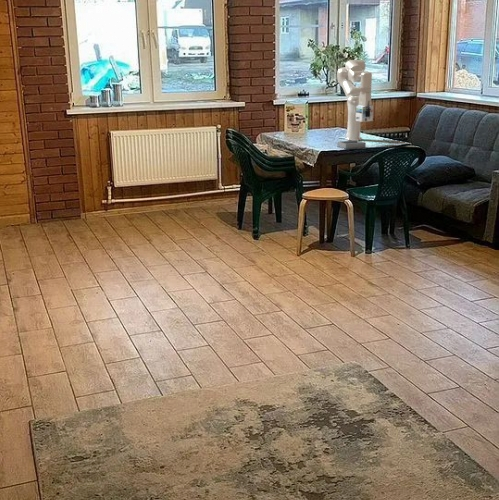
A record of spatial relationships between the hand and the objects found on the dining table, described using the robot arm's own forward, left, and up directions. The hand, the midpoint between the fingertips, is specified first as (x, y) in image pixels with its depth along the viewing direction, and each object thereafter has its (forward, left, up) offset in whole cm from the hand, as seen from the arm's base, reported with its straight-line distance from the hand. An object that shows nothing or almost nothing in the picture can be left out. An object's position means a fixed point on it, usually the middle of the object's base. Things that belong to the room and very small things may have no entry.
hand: (364, 115), depth 503 cm
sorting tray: (+10, -16, -20) cm, 27 cm away
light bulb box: (0, 0, -4) cm, 4 cm away
